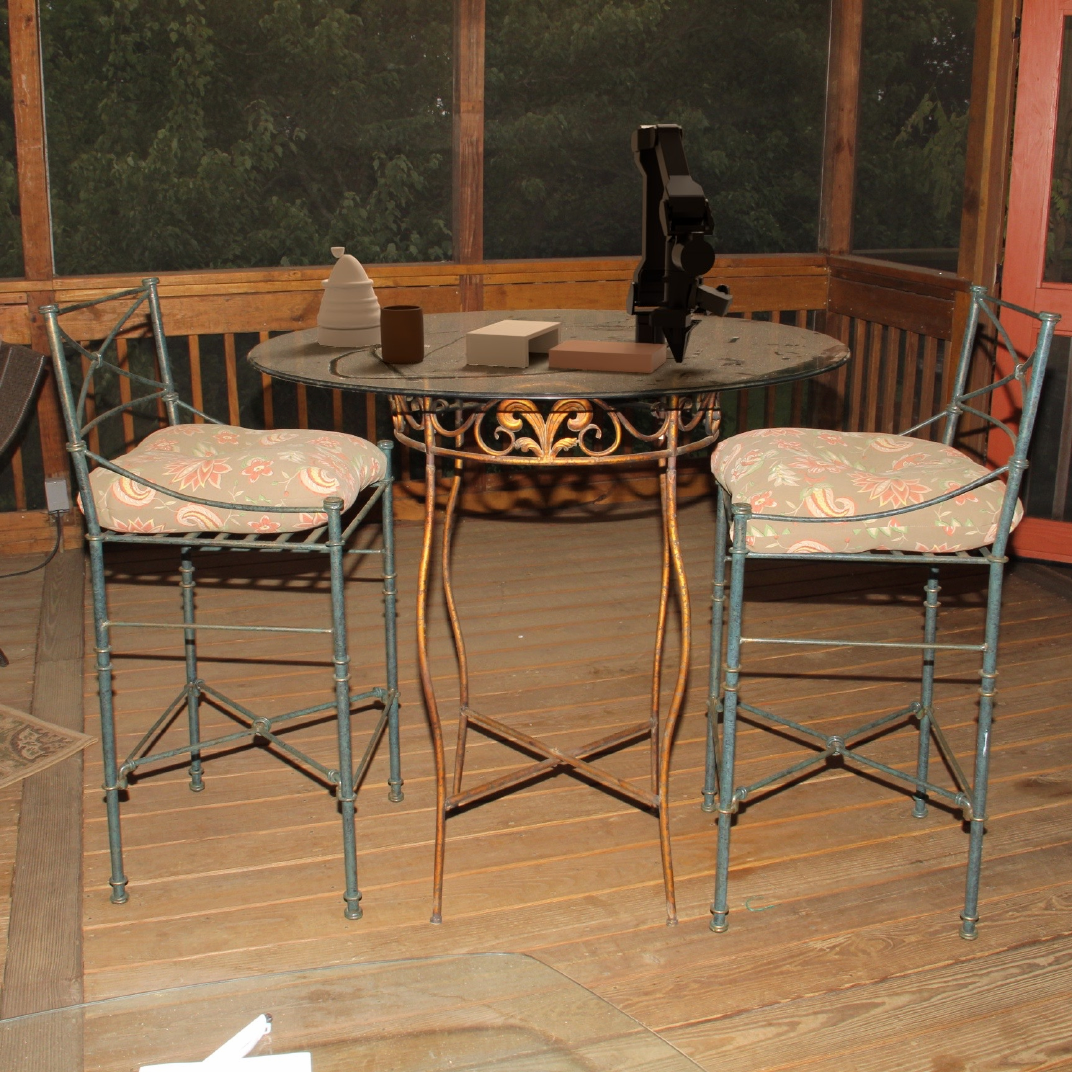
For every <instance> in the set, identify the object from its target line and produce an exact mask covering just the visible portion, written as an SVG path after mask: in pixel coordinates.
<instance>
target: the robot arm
mask: <svg viewBox="0 0 1072 1072" xmlns="http://www.w3.org/2000/svg"><path fill="white" fill-rule="evenodd" d="M630 141H631V142H630V146H631V151H632V153H633V156H634V159H633V161H634V163H635V165H636V167H637V169H638V171H639V172H640V173H641V175H642V228H641V229H642V230H641V232H642V234H641V237H642V238H641V259H640V261H639V262H638V264H637V266H636V267H635V269H634V270H633V274H632V281H631V282H630V284H629V288H628V292H627V297H626V301H625V304H626V305H625V306H626V307H625V308H626V313H627V314H628V315H630V316H635V317H634V318H635V320H634V321H635V324H634V326H635V327H634V342H633V343H650V344H667V347H669V350H670V353H671V355H672V356H673V359H674V362H675V363H676V364H682V363H684V360H685V356H686V353H687V350H688V345H689V341H690V338H691V335H692V332H693V331H694V329H696V327H697V326H699V325H700V324H701V323H702V322H703V320H702V319H695V315H693V314H703V316H709V315H711V313H712V314H713V315H714V316H716V317H719V318H723V317H724V316H727V314H728V313H729V309H730V307H731V306H732V304H733V301H734V295H733V294H731V287H730V286H729V285H727V284H724V283H721V284H719V285H717V286H716V288H715V287H714V286H708V285H706V284H704V283H705V282H704V281H705V279H704V277H703V276H704V275H706V274H707V273H709V271H711V270H712V268H713V267H714V265H715V261H716V252H715V249H714V248H713V245H711V244H710V243H709V242H708V241H706V240H705V237H706V236H707V237H708V236H709V237H710V236H713V235H714V230H715V221H714V216H713V211H712V207H711V206H710V203H709V202H710V201H709V200H708V198H706V195H705V193H704V191H703V190H704V189H703V188H702V185H700V184H699V183H697V182H695V180H693V179H692V177H691V173H690V169H689V165H688V160H687V156H686V153H685V149H684V128H683V127H682V125H678V124H673V123H672V124H671V123H670V124H662V123H661V124H653V125H652V124H650V125H649V124H647V125H645V124H641V125H639V126H638V127H637V129H636V130H634V131H633V132H632V133H631V140H630ZM636 307H637V308H636Z"/></svg>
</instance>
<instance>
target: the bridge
mask: <svg viewBox="0 0 1072 1072" xmlns="http://www.w3.org/2000/svg"><path fill="white" fill-rule="evenodd" d="M561 343H562V322H560V321H559V322H557V321H556V322H554V321H539V320H538V321H537V320H534V321H533V320H520V319H519V320H517V319H516V320H515V319H503V320H501V321H498V322H495V323H492V324H489V325H486V326H483V327H480V328H478V329H474V330H471V331H468V332H466V333H465V345H466V347H465V348H466V349H465V350H466V353H465V354H466V365H467V364H478V365H497V366H505V367H504V368H509V367H528V366H529V365H530V364H529V353H539V354H549V350H550V349H551V348H553V347H555V346H557V345H559V344H561ZM528 368H529V367H528Z"/></svg>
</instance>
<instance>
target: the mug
mask: <svg viewBox="0 0 1072 1072" xmlns="http://www.w3.org/2000/svg"><path fill="white" fill-rule="evenodd" d="M380 331H381V344H380V346H381V347H380V348H381V350H380V351H381V359H382V361H383V362H385V363H388V364H392V365H395V364H396V365H408V363H410V364H415V363H417V364H418V363H421V362H423V360H424V358H425V328H424V312H423V306H419V305H410V304H395V305H387V306H386V305H385V306H382V307H380Z"/></svg>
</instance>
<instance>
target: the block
mask: <svg viewBox="0 0 1072 1072" xmlns="http://www.w3.org/2000/svg"><path fill="white" fill-rule="evenodd" d="M667 347H668V346H667V344H650V343H634V342H625V341H606V340H605V341H603V340H602V341H600V340H581V339H579V340H577V339H567V340H564V342H561V344H559V345H557V346H555V347H553V348H551V349H550V350H549V353H548V368H549V367H561V368H560V369H567V368H576V369H575V370H591V371H610V372H629V373H631V372H632V373H647V374H649V373H653V372H655V370H657V369H658V368H659V367H660V366H662V365H663V364H665V363H666V362H667Z"/></svg>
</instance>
